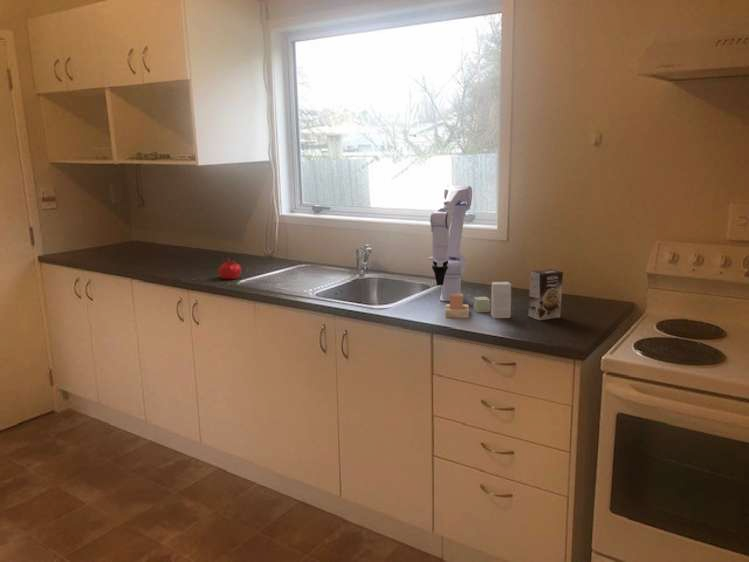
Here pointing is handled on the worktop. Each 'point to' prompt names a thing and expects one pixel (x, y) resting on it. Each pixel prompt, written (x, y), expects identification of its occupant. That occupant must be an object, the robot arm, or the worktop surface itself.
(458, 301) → the terracotta cube
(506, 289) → the skincare box
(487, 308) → the sage cube
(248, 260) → the worktop surface
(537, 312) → the coffee box
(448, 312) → the maple slab
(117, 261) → the worktop surface
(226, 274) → the pomegranate
